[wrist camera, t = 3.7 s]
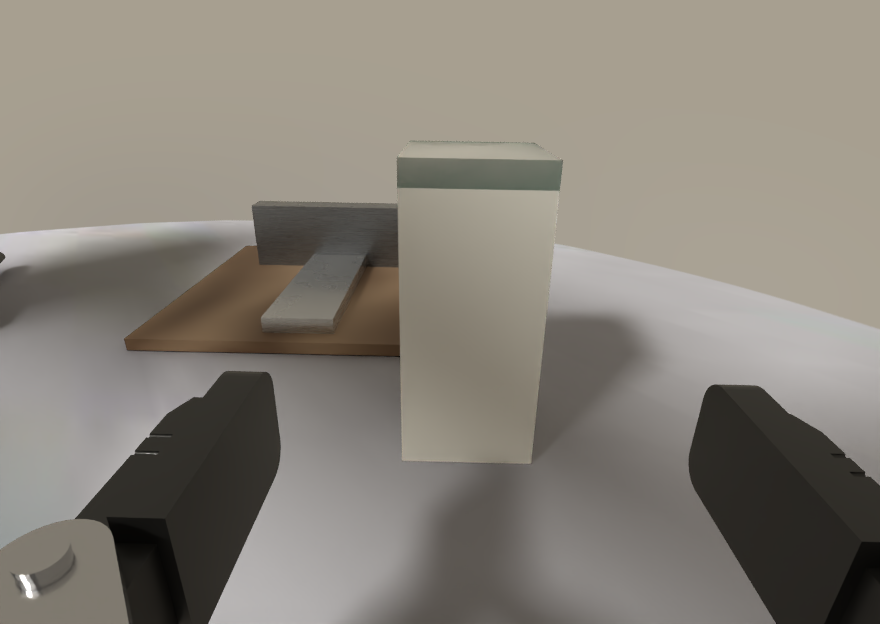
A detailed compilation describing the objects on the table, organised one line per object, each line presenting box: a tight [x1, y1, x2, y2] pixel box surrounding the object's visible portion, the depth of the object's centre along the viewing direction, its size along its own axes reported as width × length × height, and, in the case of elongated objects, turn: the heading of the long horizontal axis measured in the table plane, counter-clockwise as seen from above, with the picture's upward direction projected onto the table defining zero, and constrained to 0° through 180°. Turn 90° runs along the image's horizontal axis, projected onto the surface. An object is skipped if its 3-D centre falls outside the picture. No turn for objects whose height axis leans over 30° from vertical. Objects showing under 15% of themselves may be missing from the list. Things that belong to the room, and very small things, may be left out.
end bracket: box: [252, 201, 399, 268], centre depth 35 cm, size 11×2×4 cm, turn 89°
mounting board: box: [124, 246, 400, 356], centre depth 32 cm, size 16×16×1 cm
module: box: [397, 141, 563, 464], centre depth 18 cm, size 4×5×10 cm
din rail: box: [261, 254, 366, 334], centre depth 32 cm, size 4×14×1 cm, turn 179°
